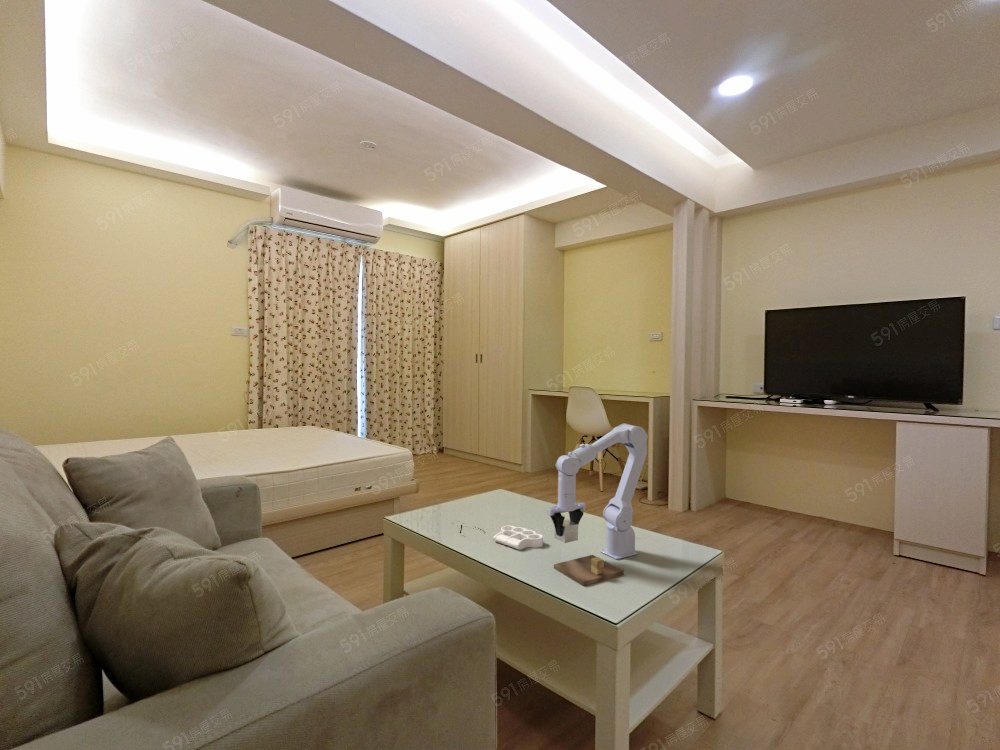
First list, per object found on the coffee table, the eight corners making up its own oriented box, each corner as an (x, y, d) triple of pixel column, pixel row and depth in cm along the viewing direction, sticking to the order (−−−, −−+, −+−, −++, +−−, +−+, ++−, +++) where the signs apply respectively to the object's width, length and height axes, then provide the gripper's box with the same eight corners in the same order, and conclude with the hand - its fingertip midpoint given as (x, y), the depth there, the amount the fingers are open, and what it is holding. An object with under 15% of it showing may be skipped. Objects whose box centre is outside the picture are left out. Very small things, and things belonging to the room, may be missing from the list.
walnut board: (592, 558, 155) (592, 542, 155) (623, 574, 143) (623, 557, 143) (553, 568, 147) (554, 551, 147) (583, 586, 135) (583, 568, 135)
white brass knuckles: (486, 541, 171) (513, 531, 182) (524, 554, 159) (550, 543, 169) (486, 532, 171) (513, 522, 182) (525, 544, 159) (550, 534, 169)
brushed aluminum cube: (567, 535, 158) (567, 519, 158) (577, 540, 154) (578, 524, 154) (554, 537, 156) (554, 521, 155) (564, 543, 151) (565, 526, 151)
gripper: (576, 487, 162) (575, 526, 162) (541, 492, 154) (541, 533, 154) (589, 492, 155) (589, 532, 156) (554, 497, 148) (554, 540, 148)
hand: (566, 533), depth 155 cm, fingers closed on brushed aluminum cube, 5 cm apart
